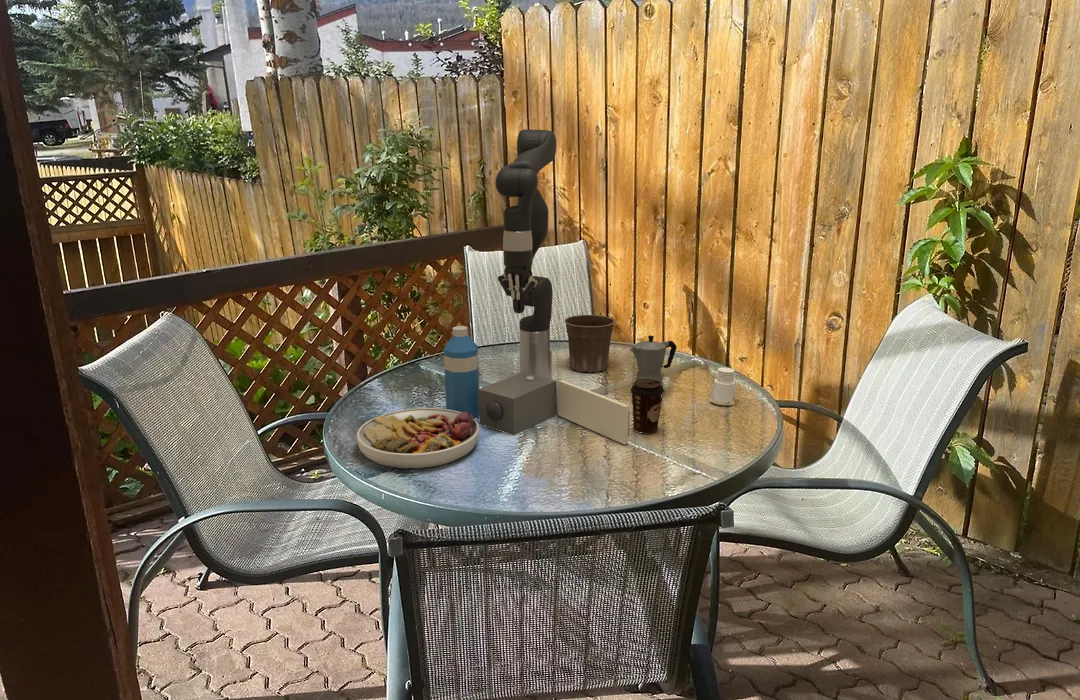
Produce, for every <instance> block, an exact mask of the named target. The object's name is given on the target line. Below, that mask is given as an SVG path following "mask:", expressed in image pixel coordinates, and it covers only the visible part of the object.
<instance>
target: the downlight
mask: <svg viewBox="0 0 1080 700" xmlns="http://www.w3.org/2000/svg"><path fill="white" fill-rule="evenodd" d="M734 378H735V369H733V368H730V367H718V368H717V373H716V378H715V379H714V383H713V387H712V388H711V391H710V393H711V396H712V398H711V399H713V400H714V401H715V400H716V401H719V402H720V401H721V402H728V401H731V400H733V399H735V398H734V395H735V396H737V395H736V394H737V392H736V381H735V379H734ZM733 401H734V400H733Z"/></svg>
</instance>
